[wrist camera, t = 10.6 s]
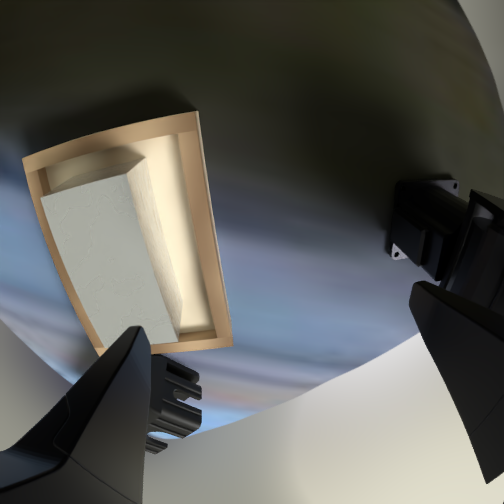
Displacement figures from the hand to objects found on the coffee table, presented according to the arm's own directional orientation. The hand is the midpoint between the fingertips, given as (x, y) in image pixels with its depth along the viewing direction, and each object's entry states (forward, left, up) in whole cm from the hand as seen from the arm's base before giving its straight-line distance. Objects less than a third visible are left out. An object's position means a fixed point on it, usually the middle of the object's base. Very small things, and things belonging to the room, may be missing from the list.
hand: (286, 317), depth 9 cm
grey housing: (+8, +1, -10) cm, 13 cm away
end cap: (+12, +17, -12) cm, 24 cm away
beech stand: (+8, +2, -12) cm, 15 cm away
